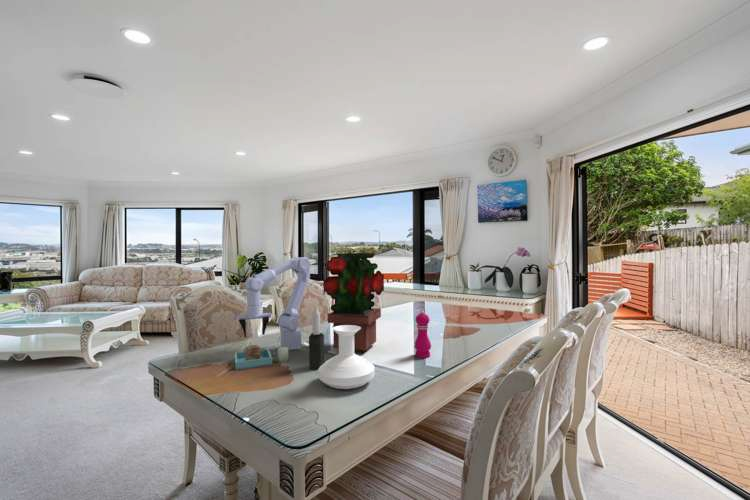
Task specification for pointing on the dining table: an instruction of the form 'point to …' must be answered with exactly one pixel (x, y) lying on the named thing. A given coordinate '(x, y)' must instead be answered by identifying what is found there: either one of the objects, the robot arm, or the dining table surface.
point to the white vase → (346, 363)
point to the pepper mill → (422, 336)
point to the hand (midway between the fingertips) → (254, 335)
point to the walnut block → (252, 352)
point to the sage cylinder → (283, 354)
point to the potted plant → (354, 296)
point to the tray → (243, 364)
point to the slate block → (271, 350)
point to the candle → (316, 343)
